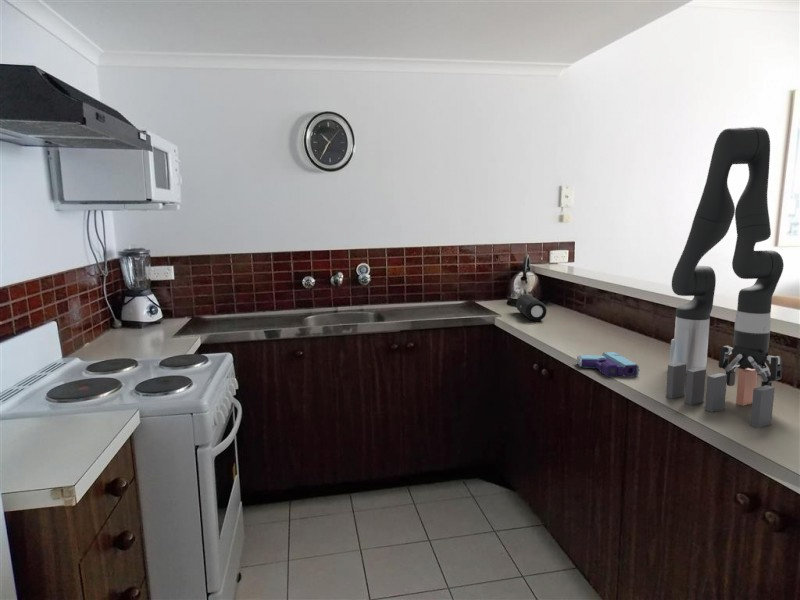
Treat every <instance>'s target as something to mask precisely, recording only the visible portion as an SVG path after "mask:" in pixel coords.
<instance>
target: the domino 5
mask: <svg viewBox="0 0 800 600" xmlns="http://www.w3.org/2000/svg"><path fill="white" fill-rule="evenodd" d="M774 398H775V387H774V386H768V385H765V386H758V387H756V388H754V389H753V400H752V403H751V411H750V412H751V413H750V422H749V425H750V426H751V427H754V428H756V429H760V428H763V427H767V426H769V425H771V424H772V420H773V409H774V408H773V407H774V400H775V399H774Z"/></svg>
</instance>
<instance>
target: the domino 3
mask: <svg viewBox="0 0 800 600" xmlns="http://www.w3.org/2000/svg"><path fill="white" fill-rule="evenodd" d="M706 377H707V378H706V389H705V401H704V402H705V403H704V411H706V410H707V412H709V411H710V413H714V412H713V411H715V412H718V411H721V410H724V409H725V405H726V394H727V375H726V373H723V372H722V373H721V372H717V373H715V374H714V373H713V374H710V375H706Z"/></svg>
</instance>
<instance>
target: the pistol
mask: <svg viewBox="0 0 800 600" xmlns="http://www.w3.org/2000/svg"><path fill="white" fill-rule="evenodd" d="M576 363H577V365H578V366H579V368H585V369H586V368H588V369H590V368H591V369H598V371H600V372H601V374H603V375H604V376H606V377H618V376H619V377H620V376H622V377H638V376H639V372H640V366H639V365H638V364H637V363H635V362H634V361H631V360H630V359H628V358H627V357H624V356H623V355H621V354H619V353H617V352H615V351H607V352H603V353H602V354H601V355H595V354H594V355H593V354H588V355H587V354H585V355H584V354H582V355H576Z"/></svg>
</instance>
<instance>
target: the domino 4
mask: <svg viewBox="0 0 800 600" xmlns="http://www.w3.org/2000/svg"><path fill="white" fill-rule="evenodd" d="M737 374H738V375H737V387H736V399H735V404H736V405H739V406H746V405H747V404H748V405H752V400H753V389H754V388H757V382H758V373H757V372H756V370H755V369H750V368H748V367H746V368H743V369H740V370H739V369H738V373H737ZM748 405H747V406H748Z"/></svg>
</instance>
